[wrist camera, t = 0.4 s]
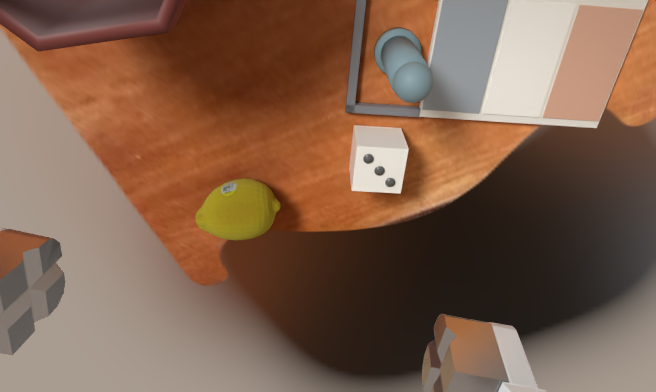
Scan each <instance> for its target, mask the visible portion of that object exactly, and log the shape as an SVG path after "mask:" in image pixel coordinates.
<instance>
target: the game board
mask: <svg viewBox="0 0 656 392" xmlns="http://www.w3.org/2000/svg"><path fill="white" fill-rule="evenodd" d="M647 2H648V0H439V1H438V6H437V12H436V17H435V23H434V28H433V33H432V39H431V44H430V50H429V55H428V61H427V64H428V66H429V67H430V70H431V73H432V75H433V88H432V90H431V92H430V94H429V95H428V96H427V97H426V98H425V99H424V100H422V101H420V104H419V106H404V105H389V104H373V103H358V102H355V99H356V90H357V80H358V71H359V62H360V53H361V44H362V34H363V25H364V16H365V7H366V0H356V6H355V17H354V27H353V37H352V47H351V57H350V68H349V78H348V88H347V98H346V108H345V110H346V113H361V114H376V115H392V116H407V117H432V118H448V119H463V120H479V121H494V122H510V123H525V124H541V125H556V126H572V127H587V128H597V126H598V124H599V121H600V118H601V116H602V114H603V111H604V109H605V106H606V104H607V101H608V99H609V96H610V94H611V91H612V89H613V86H614V84H615V81H616V79H617V76H618V74H619V72H620V69H621V67H622V64H623V62H624V59H625V57H626V54H627V52H628V49H629V47H630V44H631V42H632V39H633V37H634V34H635V32H636V29H637V27H638V24H639V22H640V19H641V17H642V14H643V12H644V10H645V7H646V5H647Z"/></svg>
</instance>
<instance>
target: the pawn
mask: <svg viewBox="0 0 656 392" xmlns="http://www.w3.org/2000/svg"><path fill="white" fill-rule="evenodd" d="M374 56H375V60H376V62H377V65H378V67H379V68H380V69H381V70H382V71H383V72H384V73H386V74H387V76H388V79H389V81H390V84H391V87H392V89H393V91H394V92H395V93H396V95H397V96H398V97H399V98H400V99H401V100H403V101H405V102H408V103H416V102H420V101H422V100H424V99H425V98H426V97H427V96H428V95H429V94H430V92H431V90H432V88H433V75H432V73H431V70H430V67H429V66H428V64H427V63H426V61H425V60H424V58H423V57H422V55H421V46H420V43H419V41H418V39H417V38H416V36H415V35H414V34H413V33H412V32H411V31H409V30H407V29H405V28H392V29H389V30H387V31H386V32H384V33H383V34H382V35H381V36H380V37H379V38H378V40H377V42H376V45H375V49H374Z"/></svg>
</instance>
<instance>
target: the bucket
mask: <svg viewBox="0 0 656 392" xmlns="http://www.w3.org/2000/svg"><path fill="white" fill-rule="evenodd" d="M186 3H187V0H0V24H1V25H3V26H4V27H5V28H7V29H8V30H9V31H11V32H12V33H13V34H15V35H16V36H18V37H19V38H20V39H22V40H23V41H24V42H26V43H27V44H29V45H30V46H31V47H33V48H34V49H35V50H37V51H45V50H52V49H59V48H65V47H72V46H79V45H86V44H93V43H100V42H107V41H114V40H120V39H127V38H134V37H141V36H148V35H155V34H162V33H167V32H169V31H170V30H171V29H172V28H173V27H175V26H176V25H177V24H178V22H179V19H180V17H181V15H182V12H183V10H184V7H185V5H186Z"/></svg>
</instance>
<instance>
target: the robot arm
mask: <svg viewBox="0 0 656 392" xmlns="http://www.w3.org/2000/svg"><path fill="white" fill-rule="evenodd" d="M61 257H62V252H61V246H60V243H59V242H58V241H57V240H55V239H53V238H49V237H44V236H39V235H35V234H30V233H25V232H21V231H16V230H11V229H6V228H1V227H0V353H2V354H9V355H13V354H14V353H15V352H16V351H17V350H18V349H19V348H20V347H21V345H22V344H23V343H24V342H25V341H26V340H27V339H28V338H29V337H30V336H31V335H32V334H33V332H34V331H35V325H34V322H36V321H38V320H40V319H43V318H45V317H48V316H49V315H50V314H51V313H52V312H53V310H54V309H55V308H56V307H57V306H58V304H59V301H60V300H61V297H62V295H63V293H64V287H65V277H64V272H63V271H62V270H61V269H60V267H59V266H58V265H57V264H56V262H57V261H58V260H59V259H60V258H61ZM434 333H435V340H433V341H432V342H430V343H429V344H428V346H427V350H426V352H425V356H424V362H423V368H422V382H423V390H424V391H425V392H547V391H546V390H542V389H538V386H537V383H536V381H535V378H534V376H533V373H532V370H531V368H530V365H529V362H528V360H527V357H526V354H525V352H524V350H523V347H522V344H521V341H520V339H519V336H518V334H517V331H516V329H515V328H514V327H513V326H509V325H502V324H497V323H491V322H488V323H486V322H481V321H476V320H471V319H465V318H460V317H455V316H450V315H444V314H440V316H439V317H438V319H437V321H436V324H435V326H434Z"/></svg>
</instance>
